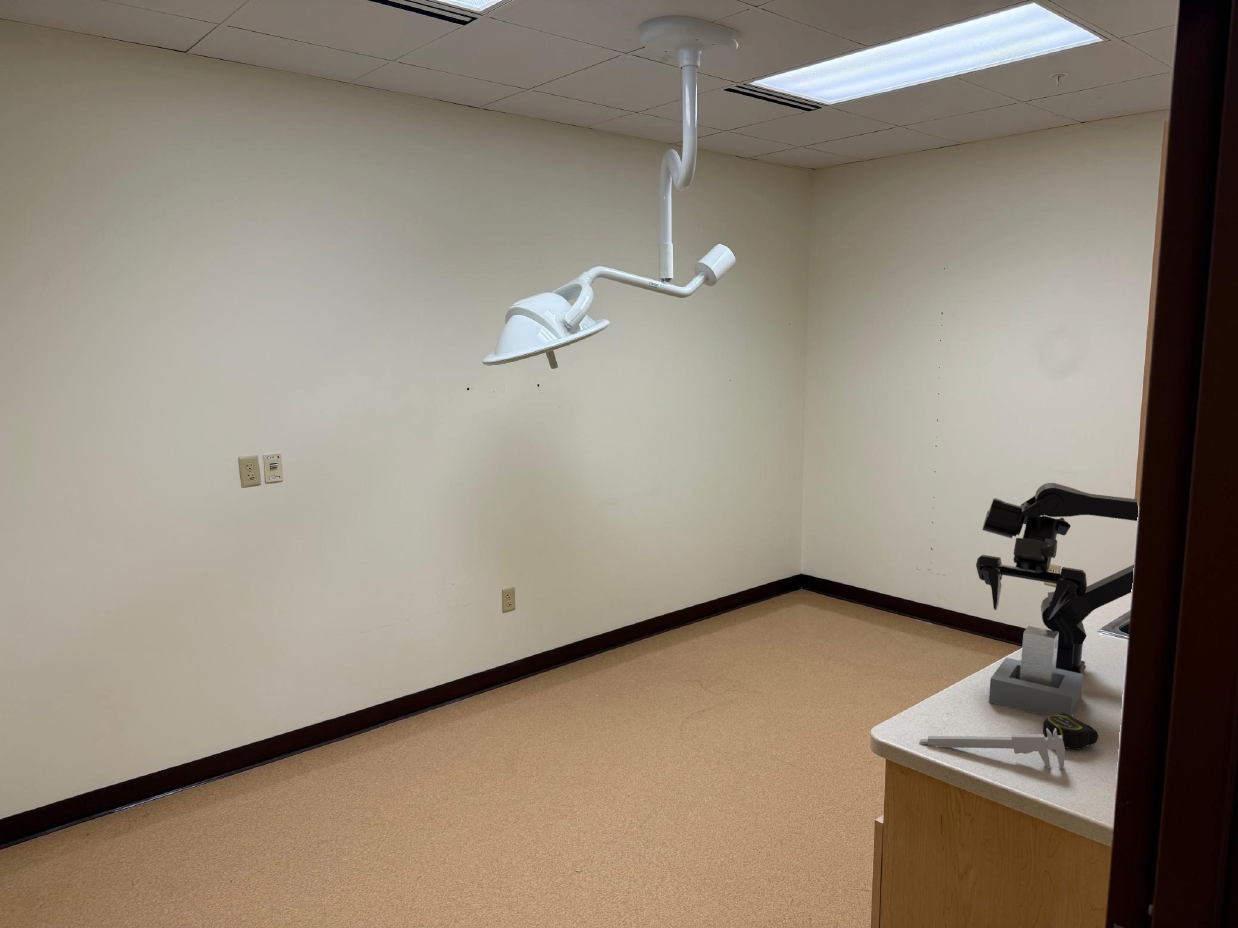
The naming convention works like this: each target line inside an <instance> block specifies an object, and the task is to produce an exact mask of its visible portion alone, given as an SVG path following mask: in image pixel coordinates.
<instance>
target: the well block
mask: <svg viewBox="0 0 1238 928" xmlns="http://www.w3.org/2000/svg"><path fill="white" fill-rule="evenodd" d="M1020 670H1021V660H1019V659H1016V658H1015V659H1014V658H1009V657H1005V658H1004V660H1003V661H1002V662H1001V664H1000V665H999V666H998V667H997V669H996V670H995V672H994V673H993V674H992V676H991V677H990V683H989V691H988V693H989V696H988V703H991V704H994V705H995V704H996V705H999V706H1003V707H1008V708H1011V709H1014V710H1015V709H1016V710H1019V711H1024V712H1028V713H1032V714H1036V715H1039V716H1043V717H1046V718H1047V717H1048V716H1049V715H1053V714H1055V715H1060V714H1062V713H1065V714H1068V715H1069V716H1071V717H1073V716H1074V714H1075V712H1076V709H1077V707H1078V705H1079V703H1080V701H1081V698H1082V691H1083V690H1082V689H1083V680H1084V679H1083V678H1084V674H1083V673H1076V672H1071V671H1066V670H1062V669H1057V668H1056V670H1055V681H1054V687H1050V686H1045V685H1041V684H1037V683H1032V682H1028V681H1023V680H1020Z"/></svg>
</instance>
